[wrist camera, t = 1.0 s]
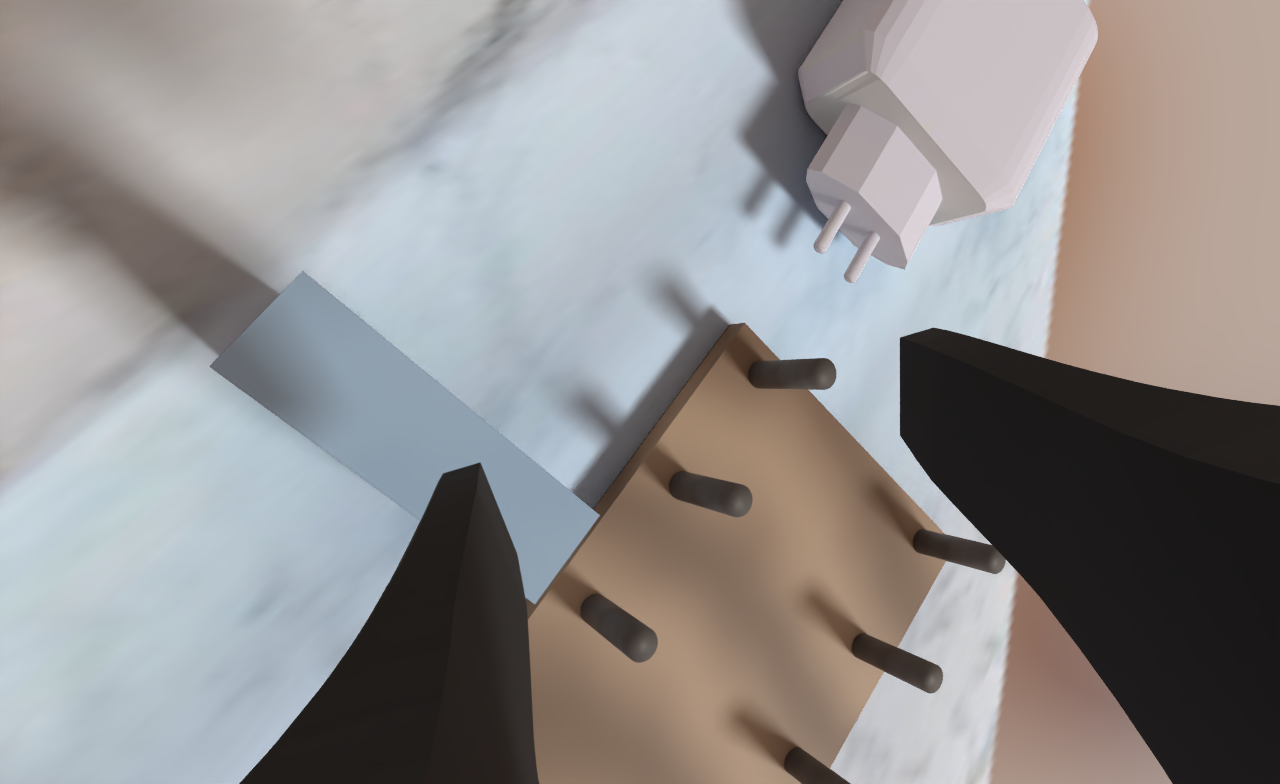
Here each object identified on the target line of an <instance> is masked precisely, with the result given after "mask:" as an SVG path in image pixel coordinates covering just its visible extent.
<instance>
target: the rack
mask: <svg viewBox="0 0 1280 784" xmlns="http://www.w3.org/2000/svg"><path fill="white" fill-rule="evenodd" d="M835 379H836V369H835V366H834V364H833V363H832V362H831V361H830V360H829V359H826V358H817V359H795V360H779V358H778V357H777V356H776V355H775V354H774V353H773V352H772V351H771V350H770V349H769V348H768V347H767V346H766V345H765V344H764V343H763V342H762V341H761V339H760V338H759V337H758V336H757V335H756V334H755V333H754V332H753V331H752V330H751V329H750V328H749V327H748V326H747V325H746V324H745V323H740V324H732V325H729V326H728V328H727V329H726V330H725V332H724V333H723V334H722V336H721V337H720V338H719V340H718V341H717V342H716V344H715V345H714V347H713V348H712V349H711V351H710V352H709V353H708V355H707V356H706V357H705V359H704V360H703V361H702V363H701V364H700V366H699V367H698V368H697V370H696V371H695V372H694V374H693V375H692V376H691V378H690V379H689V380H688V382H687V383H686V385H685V386H684V387H683V389H682V390H681V391H680V393H679V394H678V395H677V397H676V398H675V399H674V401H673V402H672V404H671V405H670V406H669V408H668V409H667V410H666V412H665V413H664V414H663V416H662V417H661V418H660V420H659V421H658V423H657V424H656V425H655V427H654V428H653V429H652V431H651V432H650V433H649V435H648V436H647V437H646V439H645V440H644V442H643V443H642V444H641V446H640V447H639V448H638V450H637V451H636V452H635V454H634V455H633V456H632V458H631V459H630V461H629V462H628V463H627V465H626V466H625V467H624V469H623V470H622V471H621V473H620V474H619V475H618V477H617V478H616V480H615V481H614V482H613V484H612V485H611V486H610V488H609V489H608V490H607V492H606V493H605V494H604V496H603V497H602V499H601V500H600V501H599V503H598V504H597V505H596V507H595V508H594V509H593V510H594V511H595V512H597V513H598V514H599V515H600V516H599V517H598V519H597V520H596V521H595V523H594V524H593V526H592V527H591V528H590V530H589V531H588V532H587V534H586V535H585V536H584V538H583V539H582V541H581V542H580V543H579V545H578V546H577V547H576V549H575V550H574V552H573V553H572V554H571V556H570V557H569V558H568V560H567V561H566V562H565V564H564V565H563V567H562V568H561V569H560V571H559V572H558V573H557V575H556V576H555V578H554V579H553V580H552V582H551V583H550V584H549V586H548V587H547V588H546V590H545V591H544V593H543V594H542V595H541V597H540V598H539V599H538V601H537V602H536V604H534V603H532V602H531V601H529V600H528V599H527V600H526V605H527V615H528V632H529V650H530V670H531V690H532V710H533V730H534V745H535V755H536V766H537V773H538V780H539V784H850V783H849V782H847V781H846V780H845V779H843V778H842V777H840V776H839V775H838V774H836V773H835V772H834V771H832V770H831V769H830V767H831V765H832V763H833V762H834V760H835V758H836V756H837V754H838V753H839V751H840V749H841V747H842V745H843V744H844V742H845V740H846V738H847V737H848V735H849V733H850V731H851V729H852V728H853V726H854V724H855V722H856V720H857V719H858V717H859V715H860V713H861V712H862V710H863V708H864V706H865V704H866V703H867V701H868V699H869V697H870V695H871V694H872V692H873V690H874V688H875V687H876V685H877V683H878V681H879V679H880V678H881V676H882V674H883V672H887V673H889V674H891V675H893V676H895V677H897V678H899V679H901V680H903V681H905V682H907V683H909V684H911V685H913V686H915V687H917V688H919V689H921V690H923V691H925V692H927V693H934V692H936V691H937V690H938V689H939V688H940V686H941V684H942V680H943V673H942V670H941V668H940V667H939V666H938V665H936V664H934V663H931V662H929V661H927V660H925V659H922V658H920V657H918V656H915V655H913V654H911V653H909V652H906V651H904V650H902V649H900V648H897V647H898V646H899V644H900V642H901V640H902V638H903V637H904V635H905V633H906V631H907V629H908V628H909V626H910V624H911V622H912V621H913V619H914V617H915V615H916V613H917V612H918V610H919V608H920V606H921V604H922V603H923V601H924V599H925V597H926V596H927V594H928V592H929V590H930V588H931V587H932V585H933V583H934V581H935V579H936V578H937V576H938V574H939V572H940V571H941V569H942V567H943V565H944V563H945V562H946V561H949V562H953V563H957V564H960V565H964V566H968V567H971V568H975V569H978V570H982V571H986V572H989V573H993V574H997V573H999V572H1001V571H1002V569H1003V568H1004V565H1005V560H1006V559H1005V558H1004V557H1003V556H1002V555H1001V554H1000V553H999V552H998V551H997V549H996V548H995V547H994V546H993V545H989V544H984V543H980V542H976V541H971V540H967V539H963V538H959V537H954V536H950V535H946V534H944V533H943V532H942V530H941V529H940V528H939V527H938V526H937V525H936V524H935V523H934V522H933V521H932V520H931V519H930V518H929V517H928V516H927V515H926V514H925V513H924V511H923V510H922V509H921V508H920V507H919V506H918V505H917V504H916V503H915V502H914V501H913V500H912V499H911V498H910V497H909V496H908V495H907V494H906V492H905V491H904V490H903V489H902V488H901V487H900V486H899V485H898V484H897V483H896V482H895V481H894V480H893V479H892V478H891V477H890V476H889V475H888V473H887V472H886V471H885V470H884V469H883V468H882V467H881V466H880V465H879V464H878V463H877V462H876V461H875V460H874V459H873V458H872V457H871V456H870V454H869V453H868V452H867V451H866V450H865V449H864V448H863V447H862V446H861V445H860V444H859V443H858V442H857V441H856V440H855V439H854V438H853V437H852V436H851V434H850V433H849V432H848V431H847V430H846V429H845V428H844V427H843V426H842V425H841V424H840V423H839V422H838V421H837V420H836V419H835V418H834V417H833V415H832V414H831V413H830V412H829V411H828V410H827V409H826V408H825V407H824V406H823V405H822V404H821V403H820V402H819V401H818V400H817V399H816V398H815V396H814V395H813V394H812V393H811V392H810V391H809V390H808V389H817V390H825V389H828V388H830V387H831V386H832V385H833V384H834V382H835Z"/></svg>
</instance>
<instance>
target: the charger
mask: <svg viewBox="0 0 1280 784" xmlns="http://www.w3.org/2000/svg"><path fill="white" fill-rule="evenodd" d="M1097 39H1098V29H1097V25H1096V22H1095V19H1094V17H1093V15H1092V13H1091V11H1090V10H1089V8H1088V6H1087V5H1086V3H1085V2H1084V0H843V2H842V3H841V5H840V6H839V8H838V9H837V11H836V12H835V14H834V16H833V17H832V19H831V20H830V22H829V23H828V25H827V26H826V28H825V30H824V31H823V33H822V34H821V36H820V37H819V39H818V40H817V42H816V44H815V45H814V47H813V48H812V50H811V51H810V53H809V54H808V56H807V58H806V59H805V61H804V62H803V64H802V65H801V67H800V68H799V70H798V78H799V82H800V87H801V91H802V95H803V100H804V104H805V108H806V111H807V112H808V114H809V116H810V117H811V118H812V119H813V120H814V122H815V123H816V124H817V125H818V126H819V127H820V128H821V129H822V130H823V131H824V132H825V134H826V135H827V137H826V139H825V141H824V142H823V144H822V146H821V147H820V149H819V150H818V152H817V154H816V155H815V157H814V159H813V160H812V162H811V164H810V165H809V167H808V168H807V176H806V182H807V184H808V187H809V189H810V191H811V194H812V196H813V199H814V201H815V203H816V206H817V208H818V209H819V210H820V211H821V212H822V213H823V214H824V215H825V216H826V217H827V218H828V221H827V223H826V224H825V226H824V228H823V229H822V231H821V233H820V234H819V236H818V238H817V240H816V241H815V243H814V245H813V246H814V249H815V251H816V252H818V253H825V252H826V250H827V249H828V247H829V245H830V243H831V242H832V240H833V238H834V237H835V235H836V233H837V231H838V230H840V231H841V232H842V233H843V234H844V235H845V236H846V237H847V238H848V239H849V240H850V242H851V243H852V244H853V245H854V246H856V247H858V248H859V249H858V251H857V253H856V254H855V256H854V258H853V260H852V261H851V263H850V265H849V267H848V268H847V270H846V272H845V274H844V278H845V280H846V281H847V282H849V283H855V282H856V280H857V278H858V277H859V275H860V273H861V271H862V270H863V268H864V266H865V264H866V262H867V261H868V259H869V257H870V255H872V256H873V257H875V258H877V259H879V260H881V261H882V262H884V263H886V264H888V265H891V266H894V267H898V268H901V269H904V270H905V268H906V266H907V264H908V263H909V261H910V259H911V257H912V255H913V253H914V252H915V250H916V248H917V246H918V244H919V242H920V241H921V239H922V237H923V235H924V233H925V231H926V230H927V228H928V226H936V225H945V224H949V223H953V222H957V221H961V220H965V219H970V218H974V217H978V216H982V215H986V214H990V213H994V212H998V211H1003V210H1007V209H1009V208H1010V207H1012V206H1013V204H1014V202H1015V200H1016V198H1017V196H1018V194H1019V192H1020V190H1021V188H1022V186H1023V185H1024V183H1025V181H1026V179H1027V177H1028V175H1029V173H1030V171H1031V169H1032V167H1033V165H1034V163H1035V161H1036V159H1037V157H1038V155H1039V153H1040V151H1041V149H1042V148H1043V146H1044V144H1045V142H1046V140H1047V138H1048V136H1049V134H1050V132H1051V130H1052V128H1053V126H1054V124H1055V122H1056V120H1057V118H1058V116H1059V114H1060V112H1061V111H1062V109H1063V107H1064V105H1065V103H1066V101H1067V99H1068V97H1069V95H1070V93H1071V91H1072V89H1073V87H1074V85H1075V83H1076V81H1077V79H1078V77H1079V75H1080V74H1081V72H1082V70H1083V68H1084V66H1085V64H1086V62H1087V60H1088V58H1089V56H1090V54H1091V52H1092V50H1093V48H1094V46H1095V44H1096V41H1097Z"/></svg>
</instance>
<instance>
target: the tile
mask: <svg viewBox="0 0 1280 784" xmlns="http://www.w3.org/2000/svg"><path fill="white" fill-rule="evenodd" d="M209 367H211V368H212V369H213V370H215V371H216V372H218V373H219V374H220V375H222V376H223V377H224V378H226V379H227V380H228V381H230V382H231V383H233V384H234V385H235V386H237V387H238V388H239V389H241V390H242V391H244V392H245V393H246V394H248V395H249V396H250V397H252V398H253V399H254V400H256V401H257V402H259V403H260V404H261V405H263V406H264V407H265V408H267V409H268V410H270V411H271V412H272V413H274V414H275V415H276V416H278V417H279V418H280V419H282V420H283V421H285V422H286V423H287V424H289V425H290V426H291V427H293V428H294V429H296V430H297V431H298V432H300V433H301V434H302V435H304V436H305V437H306V438H308V439H309V440H311V441H312V442H313V443H315V444H316V445H317V446H319V447H320V448H322V449H323V450H324V451H326V452H327V453H328V454H330V455H331V456H332V457H334V458H335V459H337V460H338V461H339V462H341V463H342V464H343V465H345V466H346V467H348V468H349V469H350V470H352V471H353V472H354V473H356V474H357V475H358V476H360V477H361V478H363V479H364V480H365V481H367V482H368V483H369V484H371V485H372V486H374V487H375V488H376V489H378V490H379V491H380V492H382V493H383V494H384V495H386V496H387V497H389V498H390V499H391V500H393V501H394V502H395V503H397V504H398V505H399V506H401V507H402V508H404V509H405V510H406V511H408V512H409V513H410V514H412V515H413V516H415V517H416V518H417V519H419V520H420V521H421V518H422V516H423V514H424V512H425V510H426V508H427V505H428V503H429V501H430V499H431V496H432V494H433V492H434V490H435V488H436V485H437V483H438V481H439V479H440V478H441V476H442V474H443V473H446V472H449V471H453V470H456V469H459V468H463V467H466V466H470V465H473V464H476V463H480V462H481V465H482V467H483V470H484V472H485V475H486V477H487V480H488V482H489V485H490V487H491V490H492V492H493V495H494V497H495V500H496V502H497V505H498V507H499V509H500V512H501V514H502V517H503V519H504V522H505V524H506V527H507V529H508V532H509V534H510V537H511V539H512V542H513V544H514V547H515V549H516V552H517V555H518V560H519V566H520V571H521V576H522V582H523V588H524V593H525V598H527V599H528V600H529V601H531V602H532V603H534V604H536V602H537V601H538V599H539V598H540V597H541V595H542V594H543V593H544V591H545V590H546V588H547V587H548V586H549V584H550V583H551V582H552V580H553V579H554V578H555V576H556V575H557V573H558V572H559V571H560V569H561V568H562V567H563V565H564V564H565V562H566V561H567V560H568V558H569V557H570V556H571V554H572V553H573V552H574V550H575V549H576V547H577V546H578V545H579V543H580V542H581V541H582V539H583V538H584V536H585V535H586V534H587V532H588V531H589V530H590V528H591V527H592V526H593V524H594V523H595V521H596V520H597V519H598V517H599V516H600V515H599V514H598V513H597V512H595V511H594V510H593V509H592V508H590V507H589V506H588V505H587V504H586V503H584V502H583V501H582V500H581V499H579V498H578V497H577V496H576V495H575V494H573V493H572V492H571V491H570V490H569V489H567V488H566V487H565V486H564V485H562V484H561V483H560V482H559V481H558V480H556V479H555V478H554V477H553V476H552V475H550V474H549V473H548V472H547V471H545V470H544V469H543V468H542V467H541V466H539V465H538V464H537V463H536V462H535V461H533V460H532V459H531V458H530V457H528V456H527V455H526V454H525V453H524V452H522V451H521V450H520V449H519V448H518V447H516V446H515V445H514V444H513V443H511V442H510V441H509V440H508V439H507V438H505V437H504V436H503V435H502V434H501V433H499V432H498V431H497V430H496V429H494V428H493V427H492V426H491V425H490V424H488V423H487V422H486V421H485V420H483V419H482V418H481V417H480V416H479V415H477V414H476V413H475V412H474V411H473V410H471V409H470V408H469V407H468V406H466V405H465V404H464V403H463V402H462V401H460V400H459V399H458V398H457V397H456V396H454V395H453V394H452V393H451V392H449V391H448V390H447V389H446V388H445V387H443V386H442V385H441V384H440V383H439V382H437V381H436V380H435V379H434V378H432V377H431V376H430V375H429V374H428V373H426V372H425V371H424V370H423V369H422V368H420V367H419V366H418V365H417V364H415V363H414V362H413V361H412V360H411V359H409V358H408V357H407V356H406V355H404V354H403V353H402V352H401V351H400V350H398V349H397V348H396V347H395V346H394V345H392V344H391V343H390V342H389V341H387V340H386V339H385V338H384V337H383V336H381V335H380V334H379V333H378V332H377V331H375V330H374V329H373V328H372V327H370V326H369V325H368V324H367V323H366V322H364V321H363V320H362V319H361V318H360V317H358V316H357V315H356V314H355V313H353V312H352V311H351V310H350V309H349V308H347V307H346V306H345V305H344V304H343V303H341V302H340V301H339V300H338V299H336V298H335V297H334V296H333V295H332V294H330V293H329V292H328V291H327V290H326V289H324V288H323V287H322V286H321V285H319V284H318V283H317V282H316V281H315V280H313V279H312V278H311V277H310V276H308V275H307V274H306V273H305V272H304V271H303V272H302V273H301V274H300V275H299V276H298V277H297V278H296V279H295V280H294V281H293V282H292V283H291V284H290V285H289V286H288V287H287V288H286V289H285V290H284V291H283V292H282V293H281V294H280V295H279V296H278V297H277V298H276V299H275V300H274V301H273V302H272V303H271V304H270V305H269V306H268V307H267V308H266V309H265V310H264V311H263V312H262V313H261V314H260V315H259V316H258V317H257V318H256V319H255V321H254V322H253V323H252V324H251V325H250V326H249V327H248V328H247V329H246V330H245V331H244V332H243V333H242V334H241V335H240V336H239V337H238V338H237V339H236V340H235V341H234V342H233V343H232V344H231V345H230V346H229V347H228V348H227V349H226V350H225V351H224V352H223V353H222V354H221V355H220V356H219V357H218V358H217V359H216V360H215V361H214V362H213V363H212V364H211V365H210V366H209Z"/></svg>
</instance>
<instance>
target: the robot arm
mask: <svg viewBox="0 0 1280 784" xmlns="http://www.w3.org/2000/svg"><path fill="white" fill-rule="evenodd" d="M900 436H901V437H902V439H903V440H904V442H905V443H906V445H907V446H908V448H909V449H910V451H911V452H912V454H913V455H914V457H915V458H916V460H917V461H918V462H919V464H920V465H921V466H922V468H923V469H924V471H925V472H926V473H927V475H928V476H929V477H930V479H931V480H932V481H933V482H934V483H935V485H936V486H937V487H938V488H939V489H940V490H941V491H942V492H943V493H944V494H945V495H946V497H947V498H948V499H949V500H950V501H951V502H952V503H953V504H954V505H955V506H956V507H957V508H958V509H959V511H960V512H961V513H962V514H963V515H964V516H965V517H966V518H967V519H968V520H969V521H970V522H971V523H972V524H973V525H974V526H975V527H976V528H977V530H978V531H979V532H980V533H981V534H982V535H983V536H984V537H985V538H986V539H987V540H988V541H989V542H990V543H991V544H992V545H993V546H994V547H995V548H996V549H997V551H998V552H999V553H1000V554H1001V555H1002V556H1003V557H1004V558H1005V559H1006V560H1007V561H1008V562H1009V563H1010V564H1011V565H1012V566H1013V567H1014V568H1015V569H1016V571H1017V572H1018V573H1019V574H1020V575H1021V576H1022V577H1023V578H1024V579H1025V580H1026V582H1028V584H1029V585H1030V586H1031V587H1032V588H1033V590H1034V591H1035V592H1036V593H1037V594H1038V595H1039V596H1040V598H1041V599H1042V600H1043V601H1044V603H1045V604H1046V605H1047V607H1048V608H1049V609H1050V611H1051V612H1052V613H1053V615H1054V616H1055V617H1056V618H1057V619H1058V621H1059V622H1060V624H1061V625H1062V626H1063V628H1064V629H1065V630H1066V631H1067V633H1068V634H1069V635H1070V637H1071V638H1072V639H1073V640H1074V642H1075V643H1076V644H1077V646H1078V647H1079V648H1080V650H1081V651H1082V653H1083V654H1084V655H1085V657H1086V658H1087V659H1088V661H1089V662H1090V664H1091V665H1092V666H1093V668H1094V669H1095V671H1096V672H1097V673H1098V675H1099V676H1100V677H1101V679H1102V680H1103V682H1104V683H1105V684H1106V686H1107V687H1108V688H1109V690H1110V691H1111V693H1112V694H1113V695H1114V697H1115V698H1116V699H1117V701H1118V702H1119V704H1120V705H1121V707H1122V708H1123V710H1124V711H1125V713H1126V714H1127V716H1128V717H1129V719H1130V720H1131V722H1132V723H1133V724H1134V726H1135V728H1136V729H1137V731H1138V732H1139V733H1140V735H1141V736H1142V738H1143V739H1144V741H1145V742H1146V744H1147V745H1148V747H1149V748H1150V750H1151V751H1152V753H1153V754H1154V756H1155V757H1156V759H1157V760H1158V761H1159V763H1160V765H1161V766H1162V767H1163V769H1164V770H1165V772H1166V774H1167V775H1168V777H1169V779H1170V780H1171V782H1172V783H1173V784H1280V406H1276V405H1267V404H1259V403H1251V402H1243V401H1237V400H1230V399H1223V398H1217V397H1211V396H1206V395H1200V394H1194V393H1189V392H1184V391H1178V390H1173V389H1167V388H1162V387H1157V386H1152V385H1148V384H1143V383H1138V382H1134V381H1130V380H1126V379H1122V378H1118V377H1113V376H1109V375H1105V374H1101V373H1097V372H1093V371H1089V370H1085V369H1081V368H1078V367H1074V366H1070V365H1067V364H1063V363H1060V362H1056V361H1052V360H1049V359H1046V358H1042V357H1039V356H1035V355H1032V354H1028V353H1025V352H1022V351H1018V350H1015V349H1011V348H1008V347H1005V346H1001V345H998V344H995V343H991V342H988V341H984V340H981V339H977V338H974V337H970V336H967V335H963V334H959V333H955V332H951V331H947V330H942V329H938V328H931V329H928V330H924V331H921V332H918V333H914V334H911V335H907V336H904V337H901V338H900ZM240 784H539V780H538V773H537V766H536V755H535V745H534V730H533V710H532V690H531V670H530V650H529V632H528V615H527V605H526V599H525V593H524V588H523V582H522V576H521V571H520V566H519V560H518V555H517V552H516V549H515V547H514V544H513V542H512V539H511V537H510V534H509V532H508V529H507V527H506V524H505V522H504V519H503V517H502V514H501V512H500V509H499V507H498V505H497V502H496V500H495V497H494V495H493V492H492V490H491V487H490V485H489V482H488V480H487V477H486V475H485V472H484V470H483V467H482V465H481V462H480V463H476V464H473V465H470V466H466V467H463V468H459V469H456V470H453V471H449V472H446V473H443V474H442V476H441V478H440V479H439V481H438V483H437V485H436V488H435V490H434V492H433V494H432V496H431V499H430V501H429V503H428V505H427V508H426V510H425V512H424V514H423V516H422V518H421V521H420V523H419V525H418V527H417V529H416V531H415V533H414V535H413V537H412V539H411V541H410V543H409V545H408V547H407V549H406V551H405V553H404V555H403V557H402V559H401V561H400V563H399V565H398V567H397V569H396V571H395V573H394V575H393V577H392V578H391V580H390V582H389V584H388V585H387V587H386V589H385V591H384V592H383V594H382V596H381V597H380V599H379V601H378V603H377V604H376V606H375V608H374V610H373V611H372V613H371V615H370V616H369V618H368V620H367V621H366V623H365V625H364V626H363V628H362V629H361V631H360V633H359V634H358V636H357V637H356V639H355V640H354V642H353V643H352V645H351V646H350V648H349V649H348V651H347V652H346V654H345V655H344V657H343V658H342V659H341V661H340V662H339V664H338V665H337V666H336V668H335V669H334V671H333V672H332V673H331V675H330V676H329V678H328V679H327V680H326V682H325V683H324V684H323V686H322V687H321V688H320V689H319V691H318V692H317V693H316V694H315V696H314V697H313V698H312V699H311V700H310V702H309V703H308V704H307V705H306V707H305V708H304V709H303V710H302V712H301V713H300V714H299V715H298V716H297V718H296V719H295V720H294V721H293V723H292V724H291V725H290V726H289V728H288V729H287V730H286V731H285V732H284V734H283V735H282V736H281V737H280V739H279V740H278V741H277V742H276V743H275V745H274V746H273V747H272V748H271V749H270V750H269V752H268V753H267V754H266V755H265V756H264V757H263V758H262V759H261V760H260V762H259V763H258V764H257V765H256V766H255V767H254V768H253V769H252V770H251V771H250V773H249V774H248V775H247V776H246V777H245V778H244V779H243V780H242V781H241V782H240Z"/></svg>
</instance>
